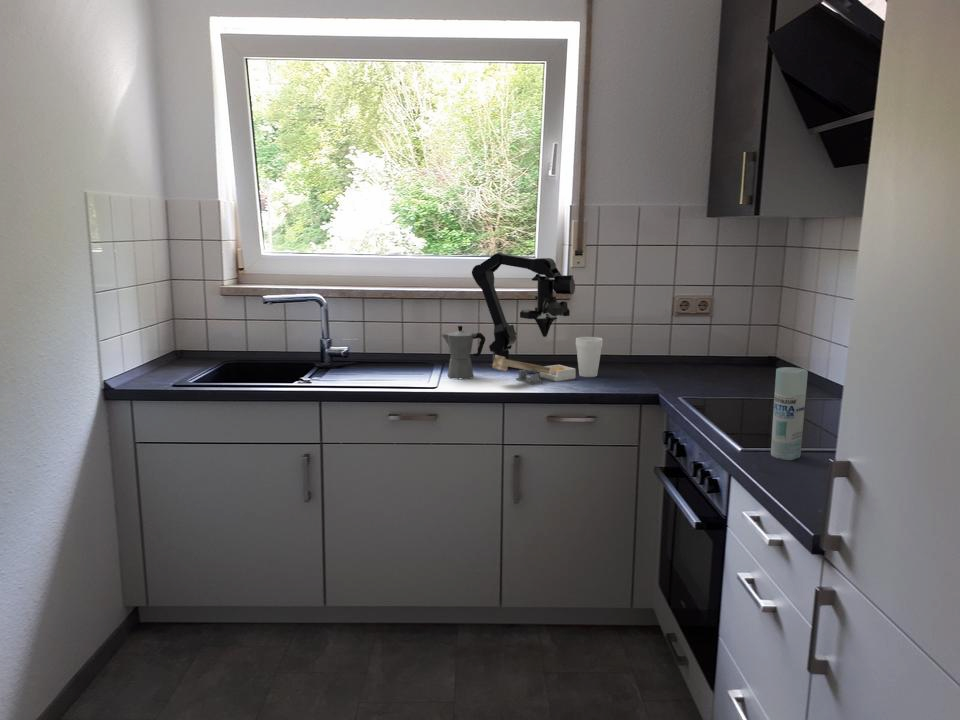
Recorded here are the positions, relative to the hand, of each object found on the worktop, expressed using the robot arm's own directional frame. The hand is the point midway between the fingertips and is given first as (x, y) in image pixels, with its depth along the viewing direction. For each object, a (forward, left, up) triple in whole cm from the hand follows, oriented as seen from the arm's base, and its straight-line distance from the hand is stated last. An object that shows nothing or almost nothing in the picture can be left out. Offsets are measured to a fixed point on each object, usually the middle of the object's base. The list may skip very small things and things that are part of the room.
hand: (544, 336), depth 262 cm
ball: (+12, -2, -11) cm, 16 cm away
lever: (+8, -18, -10) cm, 21 cm away
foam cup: (+15, +8, -13) cm, 21 cm away
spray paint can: (+110, -16, -13) cm, 112 cm away
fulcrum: (+12, -16, -12) cm, 24 cm away
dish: (+13, -4, -12) cm, 18 cm away
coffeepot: (-7, -31, -13) cm, 34 cm away
